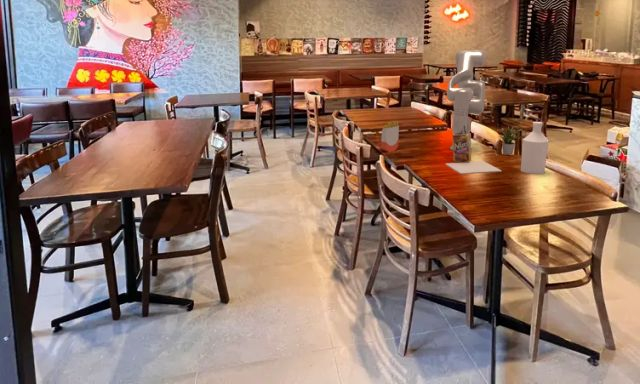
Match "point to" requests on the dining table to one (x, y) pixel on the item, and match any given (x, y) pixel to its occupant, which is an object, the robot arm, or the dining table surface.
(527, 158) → the bottle
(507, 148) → the house plant
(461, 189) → the dining table surface
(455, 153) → the candy box
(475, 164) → the felt mat
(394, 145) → the french fries container
